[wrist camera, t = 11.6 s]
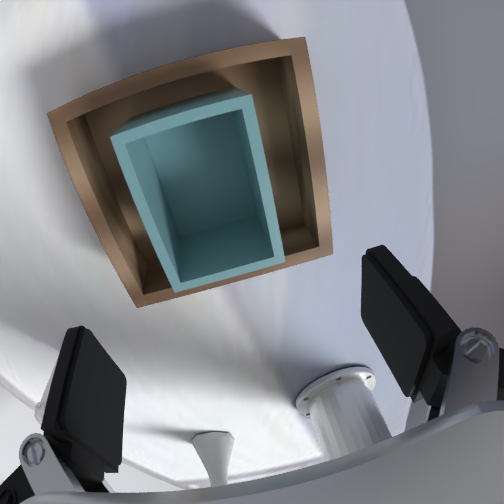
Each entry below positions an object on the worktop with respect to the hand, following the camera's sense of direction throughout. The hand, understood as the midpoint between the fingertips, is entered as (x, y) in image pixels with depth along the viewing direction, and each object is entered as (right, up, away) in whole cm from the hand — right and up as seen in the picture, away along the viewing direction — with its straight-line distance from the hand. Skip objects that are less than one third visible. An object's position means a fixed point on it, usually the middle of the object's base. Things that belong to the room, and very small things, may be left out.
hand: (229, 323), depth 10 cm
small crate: (-3, +8, +11) cm, 14 cm away
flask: (-6, -29, +36) cm, 47 cm away
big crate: (-3, +9, +12) cm, 15 cm away
